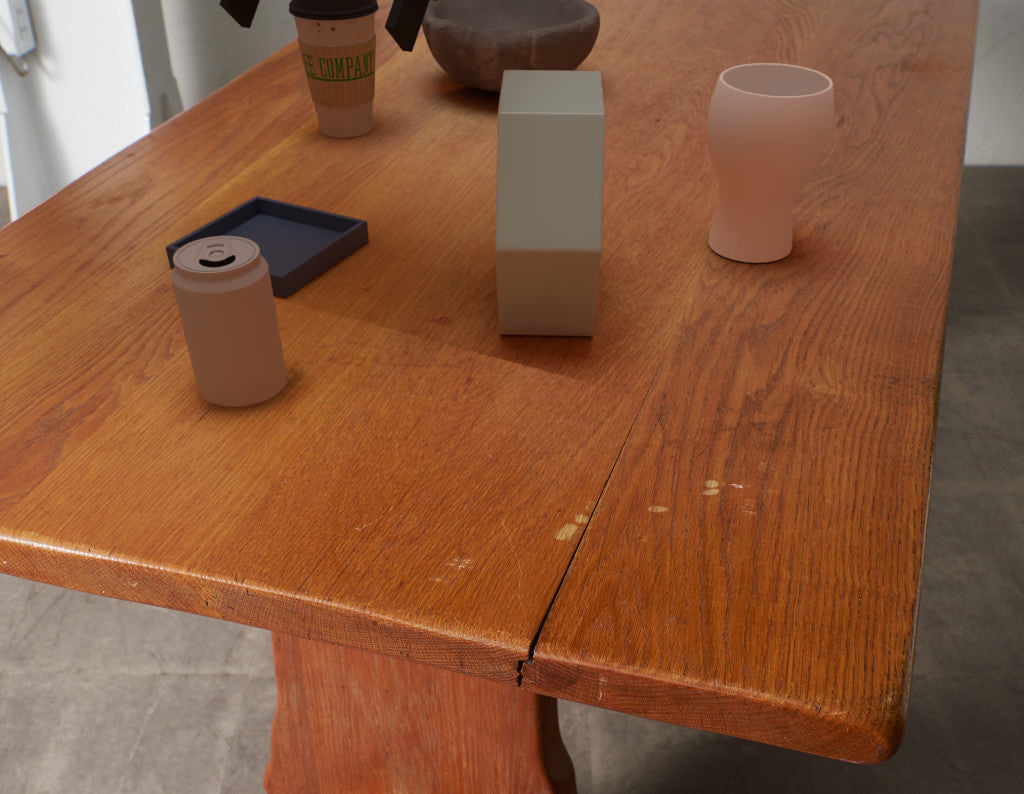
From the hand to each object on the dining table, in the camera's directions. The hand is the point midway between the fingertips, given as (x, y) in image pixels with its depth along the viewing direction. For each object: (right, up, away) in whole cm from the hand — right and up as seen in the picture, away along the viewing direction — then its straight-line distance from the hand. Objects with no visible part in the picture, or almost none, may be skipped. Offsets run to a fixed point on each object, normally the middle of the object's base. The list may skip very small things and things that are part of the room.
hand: (313, 28), depth 69 cm
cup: (+36, -8, +26) cm, 45 cm away
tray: (-9, -9, +25) cm, 28 cm away
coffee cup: (-6, +12, +51) cm, 53 cm away
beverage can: (-6, -25, +6) cm, 26 cm away
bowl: (+13, +23, +63) cm, 68 cm away
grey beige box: (+17, -15, +18) cm, 29 cm away
